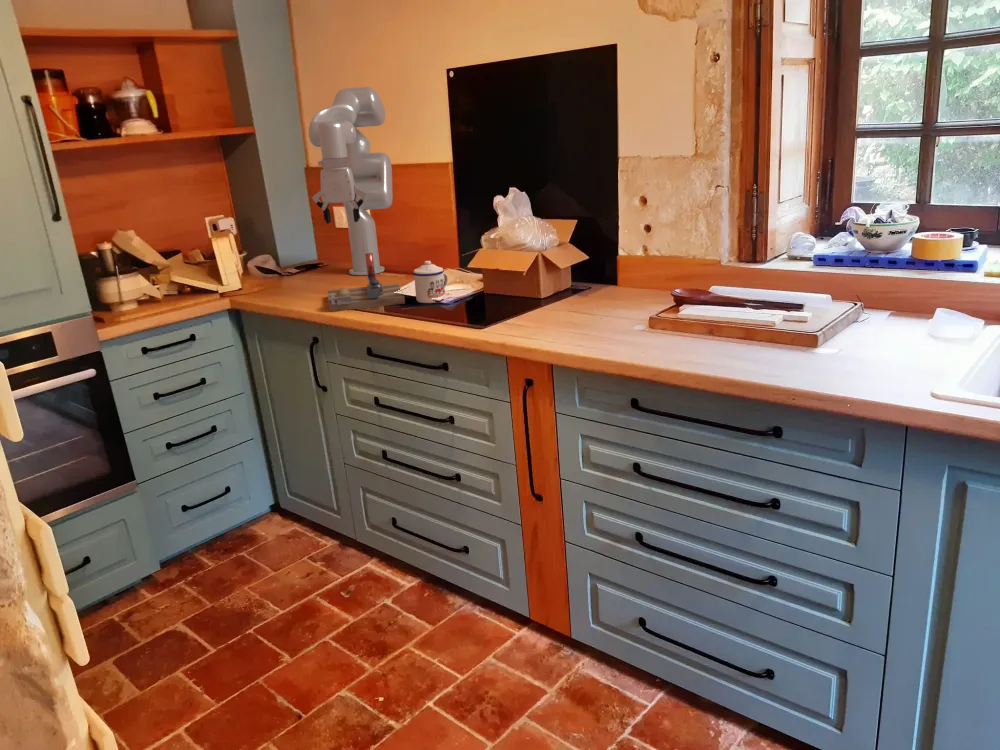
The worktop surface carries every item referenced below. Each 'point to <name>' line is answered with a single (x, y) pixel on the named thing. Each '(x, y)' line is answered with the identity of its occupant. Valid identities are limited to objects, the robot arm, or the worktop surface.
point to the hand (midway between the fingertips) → (342, 221)
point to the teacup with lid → (429, 282)
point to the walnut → (342, 292)
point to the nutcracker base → (365, 298)
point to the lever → (372, 278)
